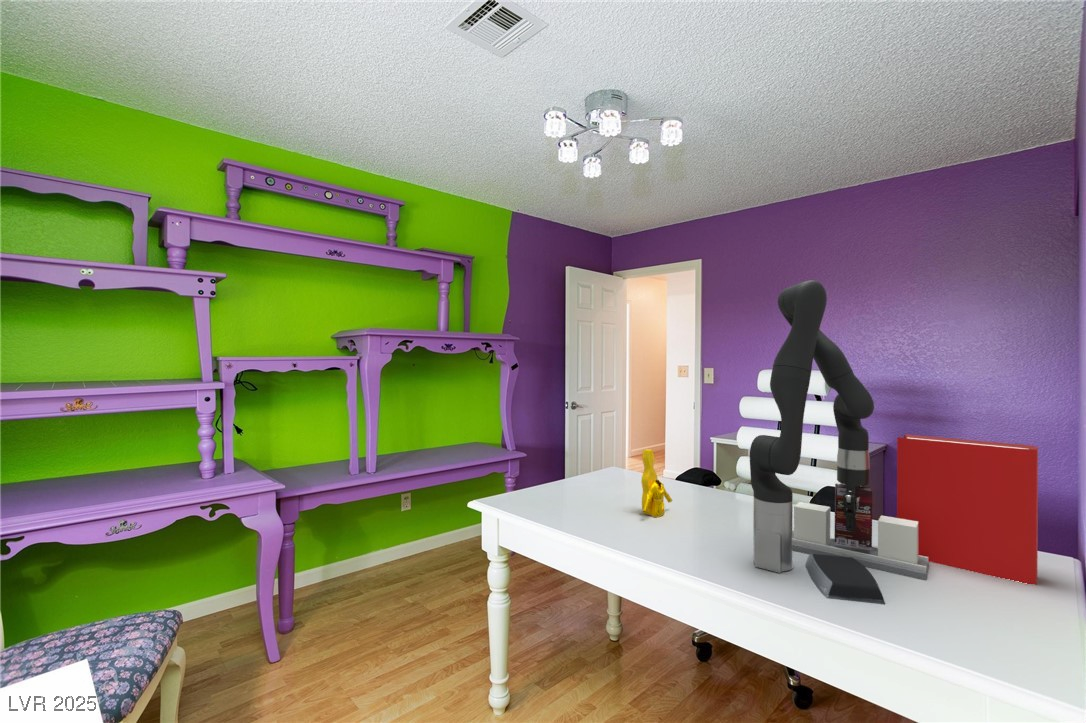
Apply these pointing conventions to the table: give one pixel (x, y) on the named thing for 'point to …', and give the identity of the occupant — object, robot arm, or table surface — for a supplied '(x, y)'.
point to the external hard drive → (843, 578)
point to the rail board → (890, 555)
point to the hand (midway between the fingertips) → (852, 527)
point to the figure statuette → (652, 488)
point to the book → (972, 503)
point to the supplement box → (863, 519)
